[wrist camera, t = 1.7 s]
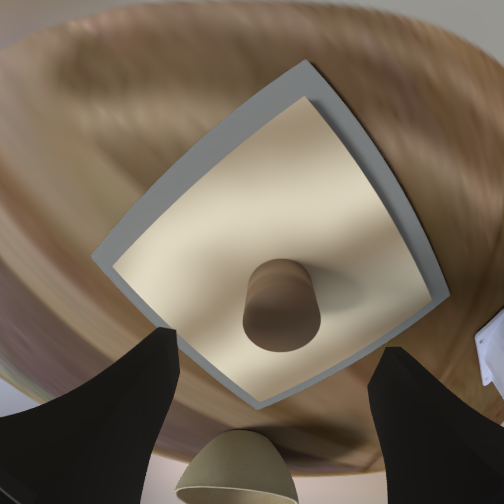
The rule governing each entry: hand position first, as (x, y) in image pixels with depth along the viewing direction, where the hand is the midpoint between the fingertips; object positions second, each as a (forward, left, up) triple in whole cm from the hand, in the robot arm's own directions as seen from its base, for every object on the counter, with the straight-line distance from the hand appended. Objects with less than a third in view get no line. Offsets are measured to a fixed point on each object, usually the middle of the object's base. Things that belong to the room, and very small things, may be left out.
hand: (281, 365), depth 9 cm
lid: (0, 0, -6) cm, 6 cm away
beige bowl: (-12, +13, -7) cm, 19 cm away
